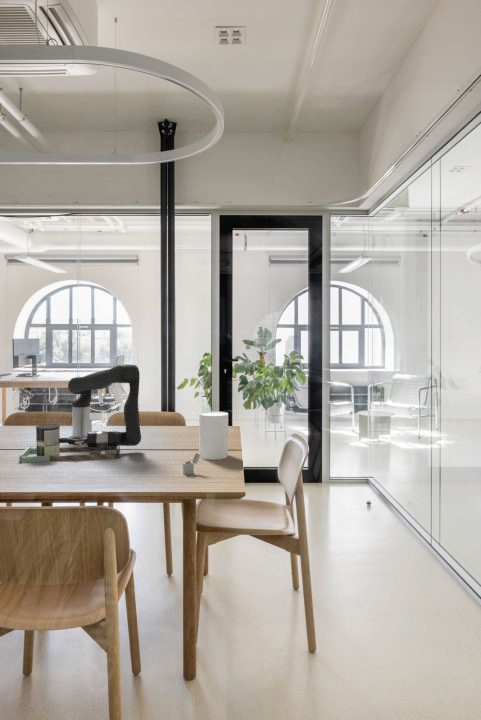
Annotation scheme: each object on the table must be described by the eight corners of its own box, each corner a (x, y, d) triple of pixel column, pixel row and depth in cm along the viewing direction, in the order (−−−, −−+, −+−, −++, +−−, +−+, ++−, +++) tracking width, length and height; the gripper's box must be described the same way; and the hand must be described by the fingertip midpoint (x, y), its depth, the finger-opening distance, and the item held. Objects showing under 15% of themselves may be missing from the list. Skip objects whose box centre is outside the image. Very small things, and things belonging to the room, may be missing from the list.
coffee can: (32, 459, 227) (32, 428, 227) (41, 453, 238) (40, 424, 237) (55, 459, 228) (55, 428, 227) (63, 453, 238) (62, 424, 237)
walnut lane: (119, 449, 248) (119, 445, 248) (118, 458, 230) (118, 453, 230) (28, 452, 240) (28, 448, 239) (19, 462, 222) (19, 457, 221)
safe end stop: (56, 451, 242) (56, 445, 242) (49, 461, 224) (49, 454, 224) (28, 452, 240) (28, 446, 239) (19, 462, 222) (19, 455, 221)
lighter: (184, 474, 204) (184, 455, 204) (182, 473, 206) (182, 454, 205) (200, 472, 207) (200, 453, 207) (198, 471, 209) (198, 452, 208)
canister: (233, 455, 236) (234, 413, 235) (213, 461, 226) (213, 417, 225) (213, 451, 245) (214, 410, 244) (193, 455, 235) (193, 413, 234)
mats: (115, 450, 246) (115, 449, 246) (114, 457, 232) (114, 456, 232) (90, 451, 243) (90, 450, 243) (87, 458, 229) (87, 457, 229)
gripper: (98, 428, 243) (61, 429, 239) (97, 434, 230) (57, 435, 227) (99, 444, 243) (61, 445, 240) (97, 450, 231) (57, 451, 227)
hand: (59, 440), depth 233 cm, fingers closed
